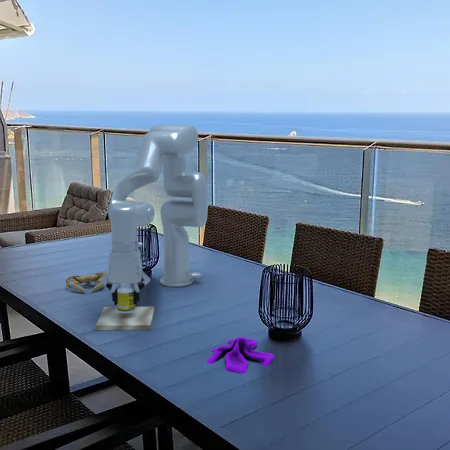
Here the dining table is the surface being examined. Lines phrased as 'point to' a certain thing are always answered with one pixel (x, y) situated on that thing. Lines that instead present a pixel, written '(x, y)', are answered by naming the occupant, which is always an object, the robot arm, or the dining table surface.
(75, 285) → the crab model
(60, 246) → the dining table surface
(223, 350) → the cloth
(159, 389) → the dining table surface
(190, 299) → the dining table surface
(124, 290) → the supplement bottle
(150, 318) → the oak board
